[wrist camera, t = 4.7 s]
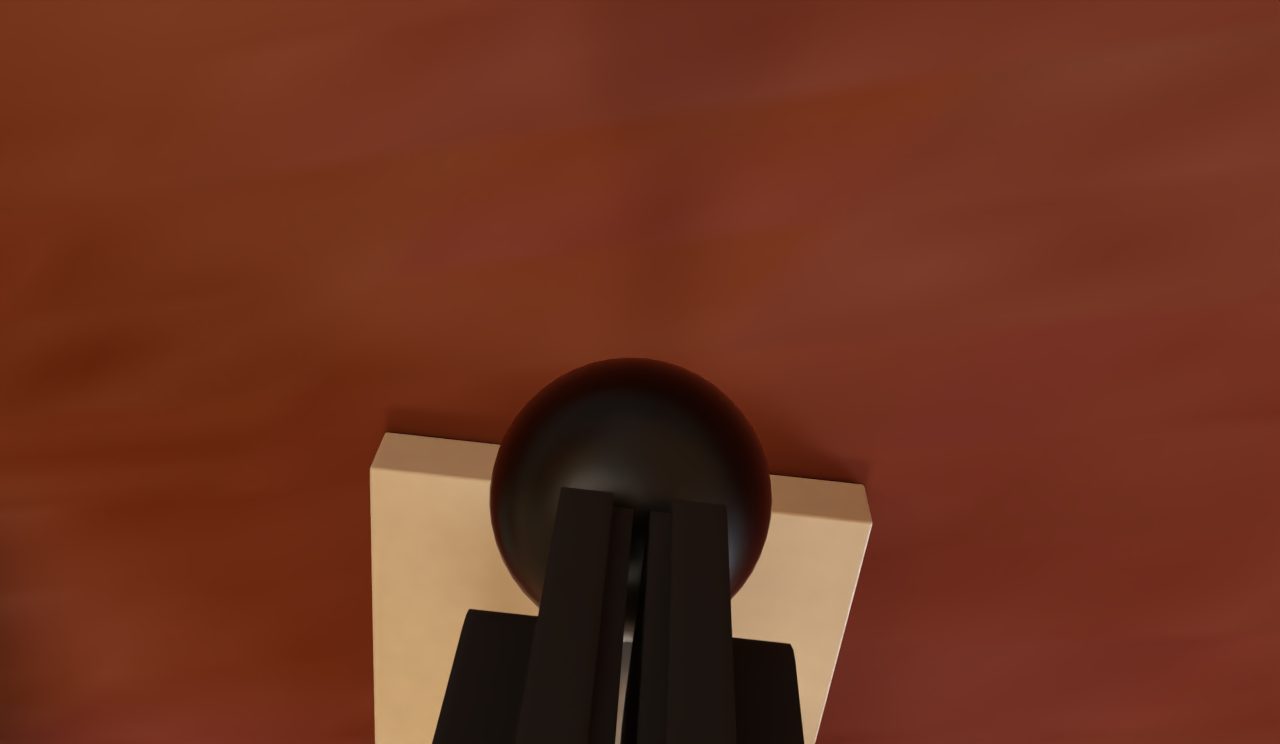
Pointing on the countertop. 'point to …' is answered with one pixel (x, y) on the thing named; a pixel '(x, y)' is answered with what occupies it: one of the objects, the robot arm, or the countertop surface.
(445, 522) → the bracket
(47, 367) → the countertop surface
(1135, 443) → the countertop surface
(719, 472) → the lever
